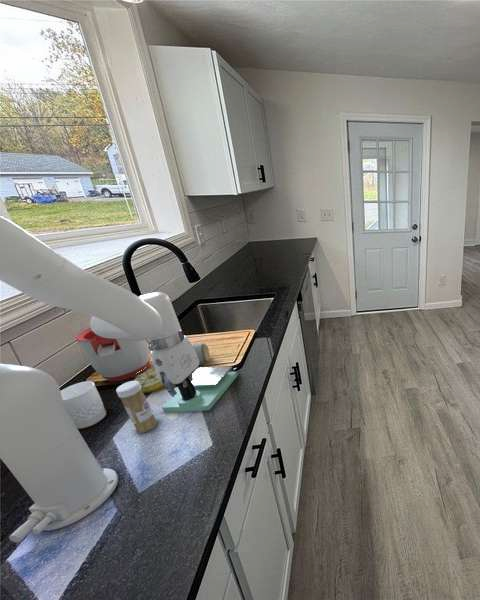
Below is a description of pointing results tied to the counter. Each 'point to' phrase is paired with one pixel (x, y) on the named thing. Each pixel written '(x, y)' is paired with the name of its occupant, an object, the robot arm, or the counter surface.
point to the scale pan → (209, 376)
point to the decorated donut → (149, 381)
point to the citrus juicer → (114, 355)
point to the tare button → (188, 398)
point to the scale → (200, 397)
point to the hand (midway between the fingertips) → (189, 395)
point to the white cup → (83, 404)
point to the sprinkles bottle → (137, 406)
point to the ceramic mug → (201, 352)
